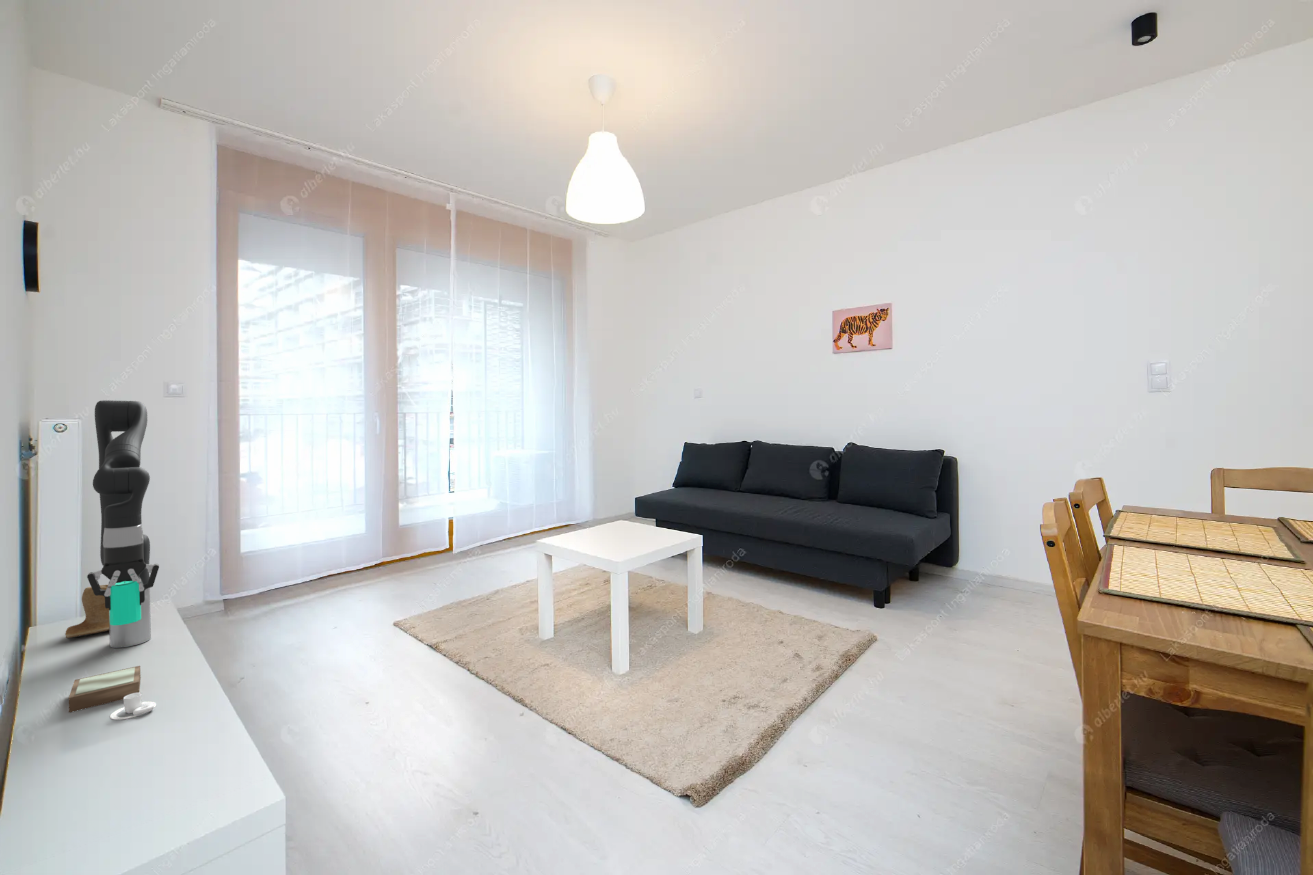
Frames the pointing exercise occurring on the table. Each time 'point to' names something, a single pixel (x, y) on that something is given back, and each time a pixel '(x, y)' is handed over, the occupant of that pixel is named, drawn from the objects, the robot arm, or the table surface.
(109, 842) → the table surface
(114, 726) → the table surface
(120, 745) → the table surface
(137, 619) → the candle
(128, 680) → the framed mirror
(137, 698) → the teacup and saucer
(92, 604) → the brown suede boot
